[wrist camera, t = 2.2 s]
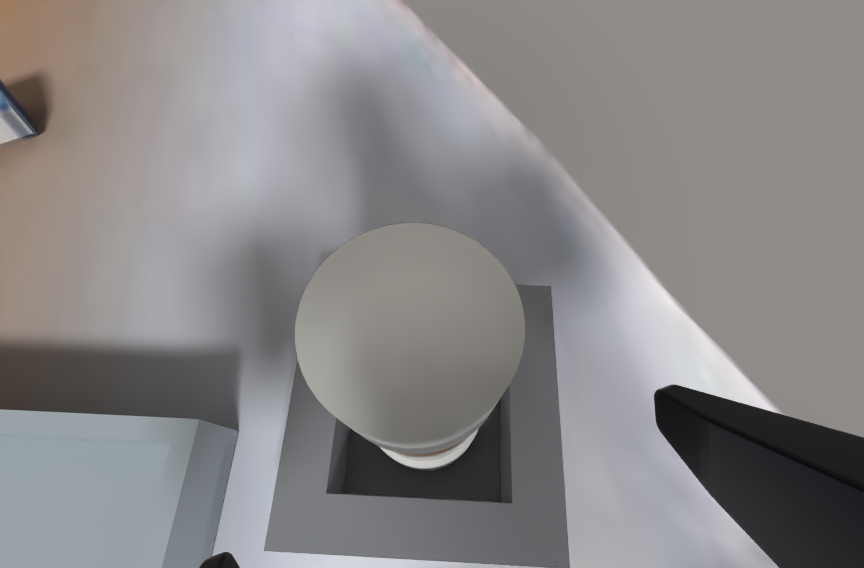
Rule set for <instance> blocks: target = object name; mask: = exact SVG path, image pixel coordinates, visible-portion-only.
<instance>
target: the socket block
mask: <svg viewBox="0 0 864 568" xmlns="http://www.w3.org/2000/svg"><path fill="white" fill-rule="evenodd" d="M515 286H516V288H517V291H518V293H519V296H520V298H521V302H522V306H523V310H524V319H525V341H524V347H523V353H522V356H521V360H520V363H519V366H518V369H517V371H516V373H515V375H514V377H513V379H512V381H511V383H510V384H509V386H508V387H507V389H506V391H505V392H504V394H503V395H502V397H501V398H500V440H501V502H494V501H475V500H456V499H438V498H419V497H401V496H382V495H363V494H345V493H343V489H344V480H345V472H346V463H347V455H348V446H349V438H350V430H351V428H350V427H348V426H347V425H345V424H344V423H343V422H341V421H340V420H339V419H337V418H336V417H335V416H334V415H333V414H331V413H330V412H329V411H328V410H327V409H326V408H325V407H324V406H323V405H322V404H321V403H320V402H319V401H318V399H317V398H316V397H315V395H314V394H313V392H312V391H311V389H310V388H309V386H308V384H307V382H306V380H305V378H304V376H303V374H302V372H301V368H300V365H299V362H298V361H297V367H296V372H295V378H294V384H293V389H292V395H291V401H290V406H289V412H288V418H287V423H286V429H285V435H284V440H283V446H282V452H281V457H280V463H279V469H278V474H277V480H276V486H275V491H274V497H273V503H272V508H271V514H270V520H269V525H268V531H267V537H266V542H265V548H264V551H276V552H293V553H310V554H328V555H345V556H362V557H379V558H396V559H413V560H430V561H447V562H464V563H481V564H498V565H516V566H533V567H550V568H570V563H569V549H568V534H567V519H566V504H565V489H564V474H563V460H562V445H561V430H560V415H559V400H558V385H557V371H556V356H555V341H554V326H553V311H552V297H551V286H525V285H515Z"/></svg>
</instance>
